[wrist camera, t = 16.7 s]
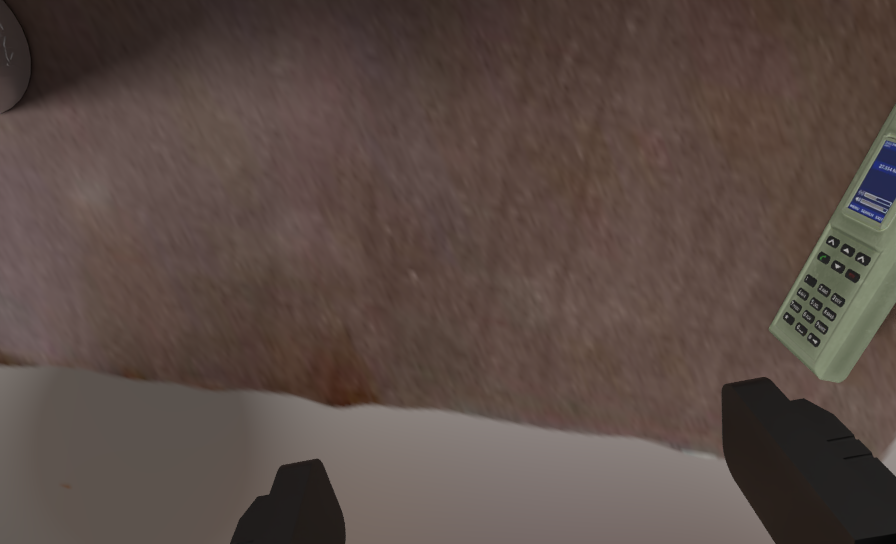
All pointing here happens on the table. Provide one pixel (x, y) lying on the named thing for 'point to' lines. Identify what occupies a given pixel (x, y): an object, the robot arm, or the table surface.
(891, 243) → the handheld radio
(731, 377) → the table surface
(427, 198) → the table surface
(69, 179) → the table surface
